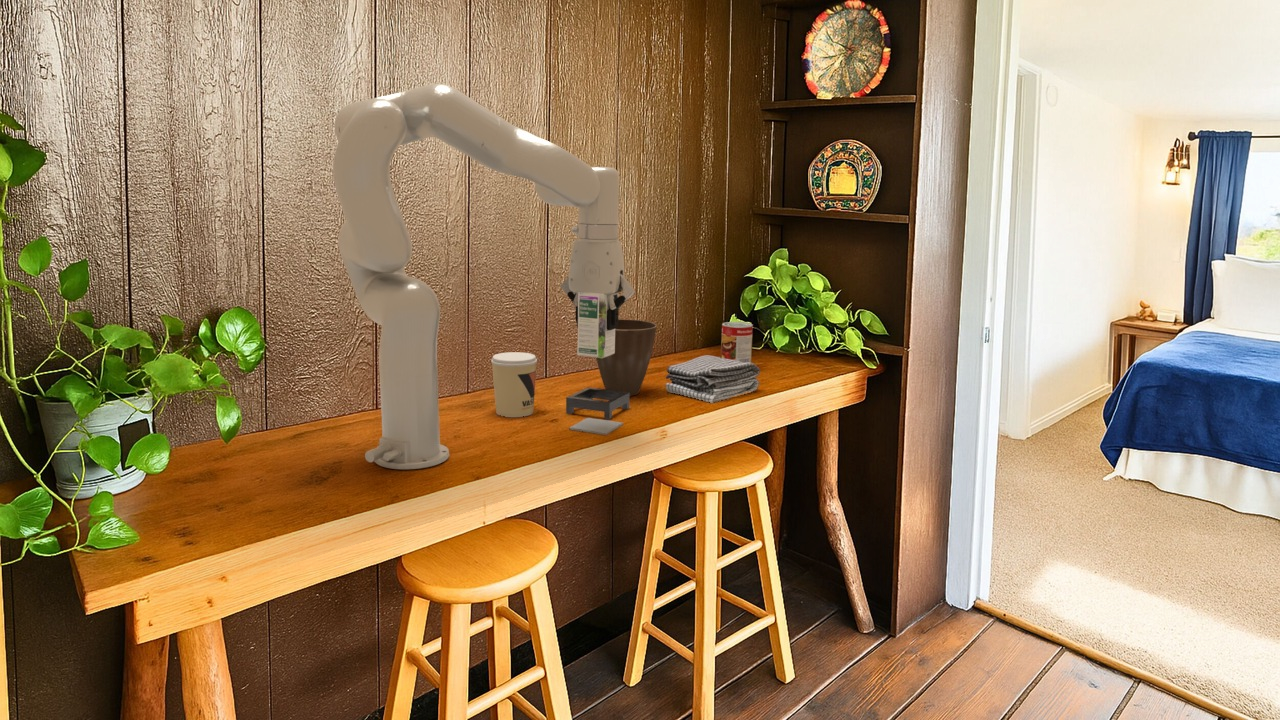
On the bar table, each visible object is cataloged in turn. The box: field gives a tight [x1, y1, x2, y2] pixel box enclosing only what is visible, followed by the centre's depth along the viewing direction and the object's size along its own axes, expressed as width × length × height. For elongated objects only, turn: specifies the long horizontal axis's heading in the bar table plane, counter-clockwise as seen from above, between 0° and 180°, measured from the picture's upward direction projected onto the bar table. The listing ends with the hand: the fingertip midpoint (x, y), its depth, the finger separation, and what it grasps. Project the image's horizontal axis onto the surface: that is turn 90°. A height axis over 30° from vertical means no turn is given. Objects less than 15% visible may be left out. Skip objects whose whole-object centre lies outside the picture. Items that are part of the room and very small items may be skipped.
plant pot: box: [595, 318, 657, 397], centre depth 198 cm, size 15×15×16 cm
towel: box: [665, 354, 761, 404], centre depth 201 cm, size 15×18×8 cm
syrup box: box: [576, 292, 615, 359], centre depth 167 cm, size 6×6×14 cm
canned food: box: [720, 321, 754, 363], centre depth 224 cm, size 8×8×12 cm
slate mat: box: [568, 417, 624, 436], centre depth 171 cm, size 8×8×1 cm
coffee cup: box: [490, 351, 538, 418], centre depth 180 cm, size 9×9×12 cm
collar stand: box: [565, 386, 631, 421], centre depth 183 cm, size 10×10×4 cm
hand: (596, 326), depth 167 cm, fingers closed on syrup box, 5 cm apart
